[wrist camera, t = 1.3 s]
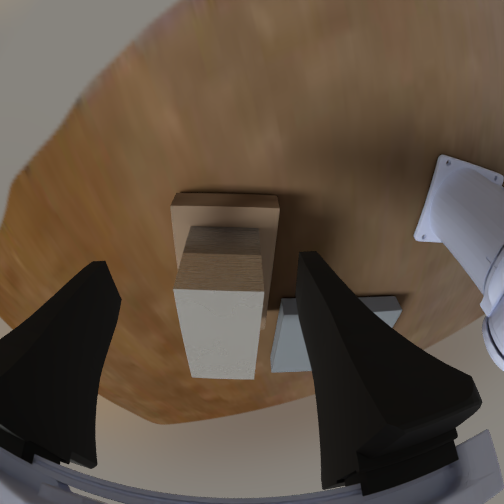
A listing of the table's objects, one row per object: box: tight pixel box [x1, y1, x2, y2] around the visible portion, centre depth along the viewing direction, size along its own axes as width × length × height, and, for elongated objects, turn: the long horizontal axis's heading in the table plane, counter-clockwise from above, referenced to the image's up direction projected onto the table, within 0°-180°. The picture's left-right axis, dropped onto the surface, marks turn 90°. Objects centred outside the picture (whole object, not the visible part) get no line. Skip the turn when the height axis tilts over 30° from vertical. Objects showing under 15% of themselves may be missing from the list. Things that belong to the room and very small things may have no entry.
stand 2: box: [270, 296, 402, 372], centre depth 28 cm, size 12×10×2 cm
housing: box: [173, 226, 264, 379], centre depth 19 cm, size 4×9×6 cm, turn 177°
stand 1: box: [170, 193, 280, 329], centre depth 22 cm, size 7×12×2 cm, turn 177°
